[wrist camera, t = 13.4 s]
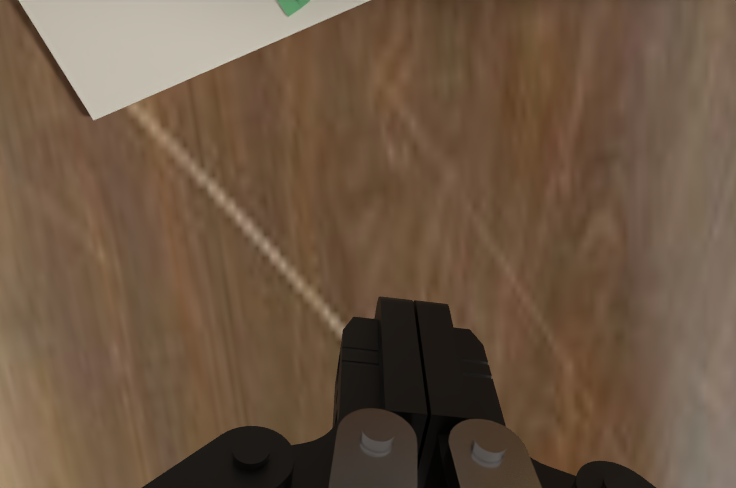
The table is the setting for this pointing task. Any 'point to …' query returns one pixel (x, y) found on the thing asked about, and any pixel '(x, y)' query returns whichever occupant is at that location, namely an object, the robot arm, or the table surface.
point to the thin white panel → (160, 40)
